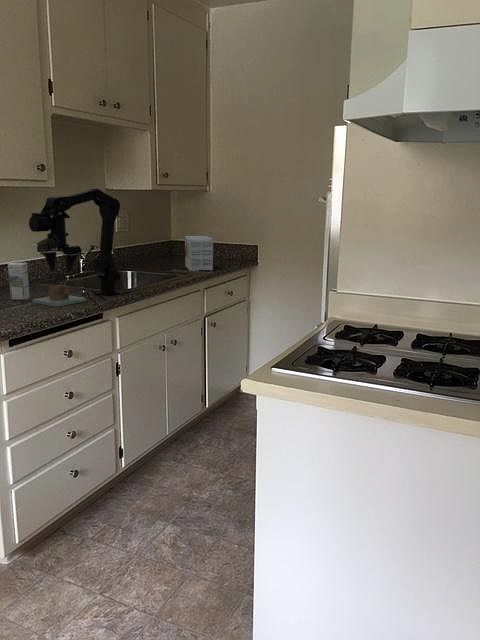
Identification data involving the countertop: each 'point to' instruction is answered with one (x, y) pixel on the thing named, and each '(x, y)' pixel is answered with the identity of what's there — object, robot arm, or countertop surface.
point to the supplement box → (198, 253)
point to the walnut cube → (58, 292)
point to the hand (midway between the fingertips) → (60, 271)
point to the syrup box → (18, 280)
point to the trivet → (59, 301)
